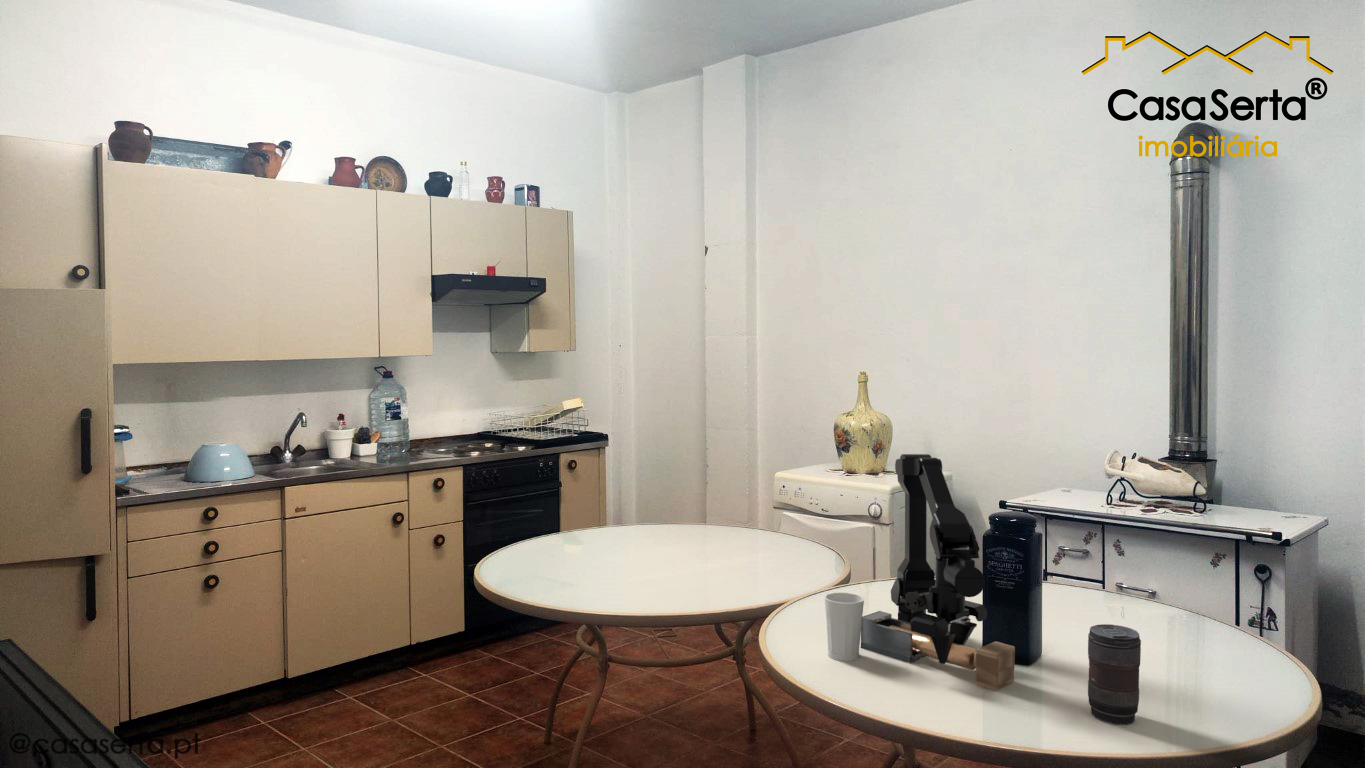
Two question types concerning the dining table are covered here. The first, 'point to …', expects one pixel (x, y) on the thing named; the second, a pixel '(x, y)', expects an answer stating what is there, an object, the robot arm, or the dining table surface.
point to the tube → (956, 655)
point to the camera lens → (1114, 673)
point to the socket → (995, 665)
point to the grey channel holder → (887, 637)
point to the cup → (843, 625)
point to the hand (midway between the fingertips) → (948, 660)
